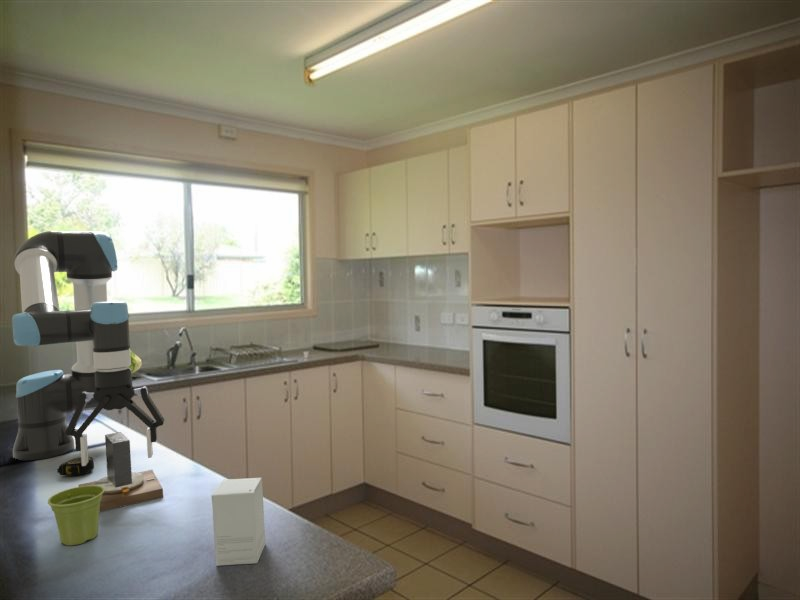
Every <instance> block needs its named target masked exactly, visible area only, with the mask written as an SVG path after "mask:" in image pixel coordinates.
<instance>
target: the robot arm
mask: <svg viewBox="0 0 800 600" xmlns="http://www.w3.org/2000/svg"><path fill="white" fill-rule="evenodd" d="M14 269H15V270H16V272H17V274H18V275H19V280H20V283H19V284H20V285H19V286H20V297H21V299H20V300H21V313H15V314H13V315H12V317H11V318H12V321H11V322H12V334H13V335H12V336H13V337H12V338H13V343H14V345H16V346H18V347H26V346H27V347H29V346H30V347H31V346H33V347H39V346H42V345H43V346H46V345H55V344H66V343H75V344H76V345H75V346H76V347H75V348H76V362H75V363H74V364H73V365H72V366H71V373H65V374H64V371H63V370H62V369H54V370H46V371H40V372H37V373H34V374H30V375H27V376H24V377H22V378H20V379H19V380H18V381H17V382H16V387H15V388H16V389H15V390H16V394H15V398H16V401H17V402H16V403H17V404H16V405H17V422H18V432H17V433H16V434H17V435H16V437H15V442H14V444H13V447H12V458H13V459H14V458H15V459H14V460H16V459H18V460H17V461H35V460H36V461H37V460H42V459H49V458H53V457H56V456H61V455H63V454H65V453H68V452H69V453H70V452H71V451H72V450H73V449H75V450H76V452H80V457H81V461H82V466H86V464H87V463H88V456H89V451H88V450H89V448H88V435H87V433H84V432H85V431H86V430H87V428H88V427H89V426H90V424H92V422H94V420H95V418H96V417H97V416H99V414H100V412H102V410H103V409H104V410H105V411H112V410H123V409H124V408H126V409H127V410H129V411H130V412H132V413H133V414H134V415H135V416H136V417H137V418H138V419H139V420H140V421H141V422H142V423H143V424H145V426H147V429H146V431H145V433H146V447H147V459H150V458H152V457H153V455H154V451H153V449H154V447H153V443H156V441H157V439H158V432H157V431H158V430H157V429H158V427H161V426H163V425H164V423H165V418H164V417H163V415H162V414H161V412H160V410H159V409H158V407H157V405H156V404H155V402H154V401H153V400H152V398H151V396H150V394H149V389H148V386H146V385H143V386H142V387H139V388H134V386H133V374H132V371H131V369H130V368H128V367H129V366H130V365H131V354H130V350H131V345H130V344H131V343H130V323H129V322H130V321H129V318H130V313H129V309H128V307H129V306H128V303H127V302H125V301H122V300H120V301H119V300H115V301H114V300H111V301H109V300H108V291H107V283H108V282H109V281H110V280H111V279H112V278H113V272H116V271H117V270H118V259H117V253H116V248H115V245H114V242H113V238H112V237H111V235H110V234H109V233H107V232H103V231H93V230H91V231H89V230H87V231H84V230H83V231H82V230H81V231H73V230H72V231H71V230H70V231H69V230H67V231H66V230H65V231H62V230H61V231H57V230H48V231H44V232H40V233H37V234H35V235H33V236H31V237H30V238H28V239H26V240H25V241H24V242H23V243H22V244H21V245H20V246H19V247H18V248H17V250H16V252H15V255H14ZM55 273H66V278H67V280H68V281H70V282H71V283H72V285H73V287H72V288H73V303H74V304H73V305H74V310H60V305H59V298H58V297H59V296H58V291H57V284H56V276H55ZM134 395H137V396H138V397H139V398H141V399H142V401H143V403H144V405H145V406H146V408H147V409H148V411H149V412H150V414H151V416H152V417H153V418H152V417H151V416H150V415H148V413H147V412H145V411H144V410H143V409H142V408H141V407H140V406H139V405H137V404H136V402H135V400H133V399H132V398H133V397H134ZM92 410H93V411H92ZM84 411H85V412H86V411H92V412H91V413H90V414H89V415H88V417H87V418H86V419H85V421H83V423H82V424H81V425H80V426H79V428H78V429H77V428H76V427H77V425H78V422H79V420H80V418H81V416H82V415H83V412H84ZM71 413H73V415H72V417H71V419H70V421H69V423H68V424H67V419H66V417H67V416H66V414H71Z"/></svg>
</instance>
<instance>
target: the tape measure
mask: <svg viewBox="0 0 800 600" xmlns="http://www.w3.org/2000/svg"><path fill="white" fill-rule="evenodd" d="M94 461H95V460H94V457H92V456H90V455H88V463H87V464H86V466H82V461H81V456H80V457H76V458H72V459H69V460H68V461H66V462H64V463H61V464H60V465H59V466H58V468H56V470H57V471H56V472H57V474H59V475H60V476H62V477H63V476H69V477H70V476H71V477H73V476H80V475H85V474H87V473H89V472H91V471H93V470H94V468H95V462H94Z"/></svg>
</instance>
